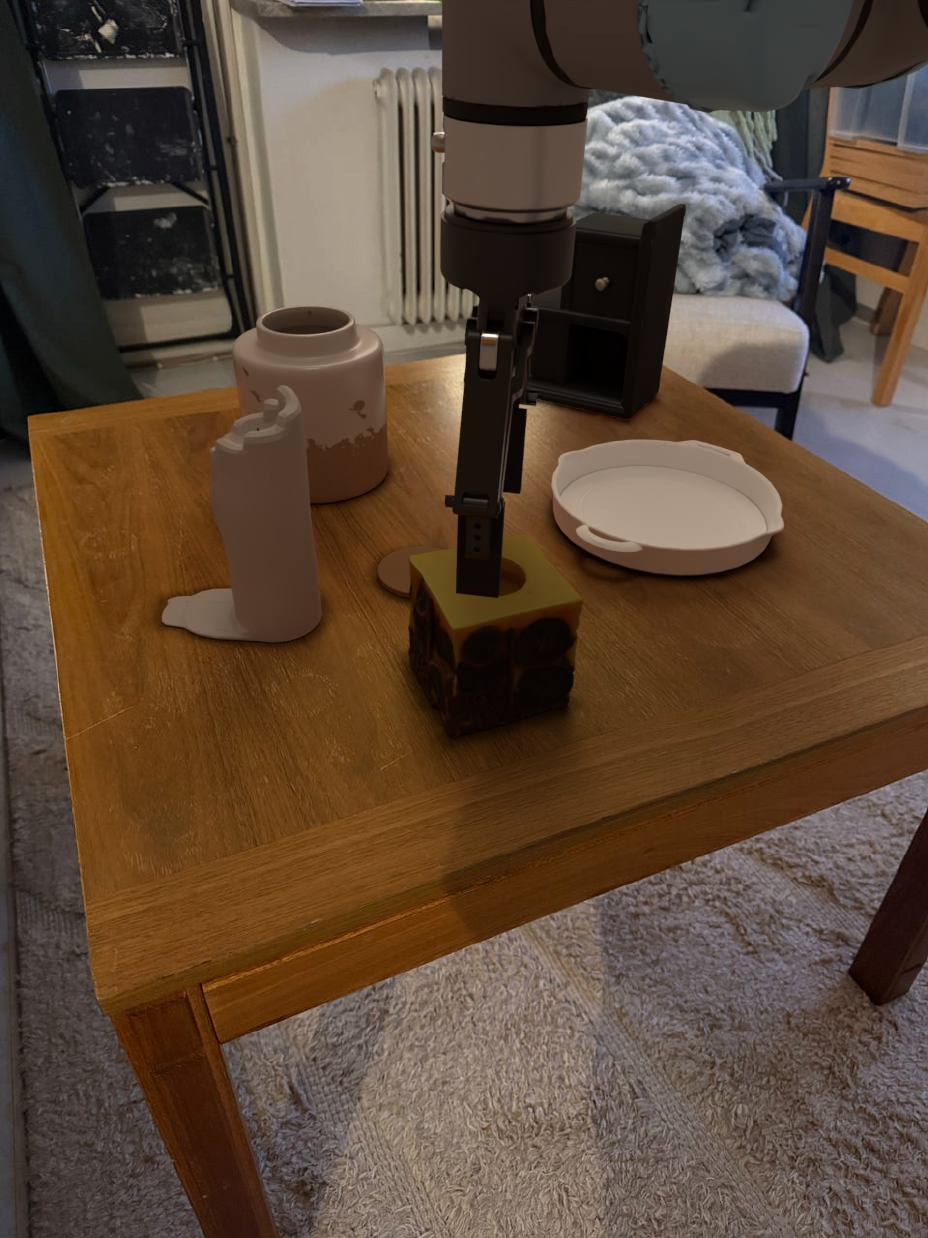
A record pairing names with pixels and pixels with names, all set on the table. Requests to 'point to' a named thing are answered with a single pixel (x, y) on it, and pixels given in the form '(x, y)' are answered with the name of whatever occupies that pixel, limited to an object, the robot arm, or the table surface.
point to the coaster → (399, 569)
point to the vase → (322, 392)
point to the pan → (665, 506)
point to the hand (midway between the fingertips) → (491, 537)
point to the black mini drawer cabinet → (609, 315)
